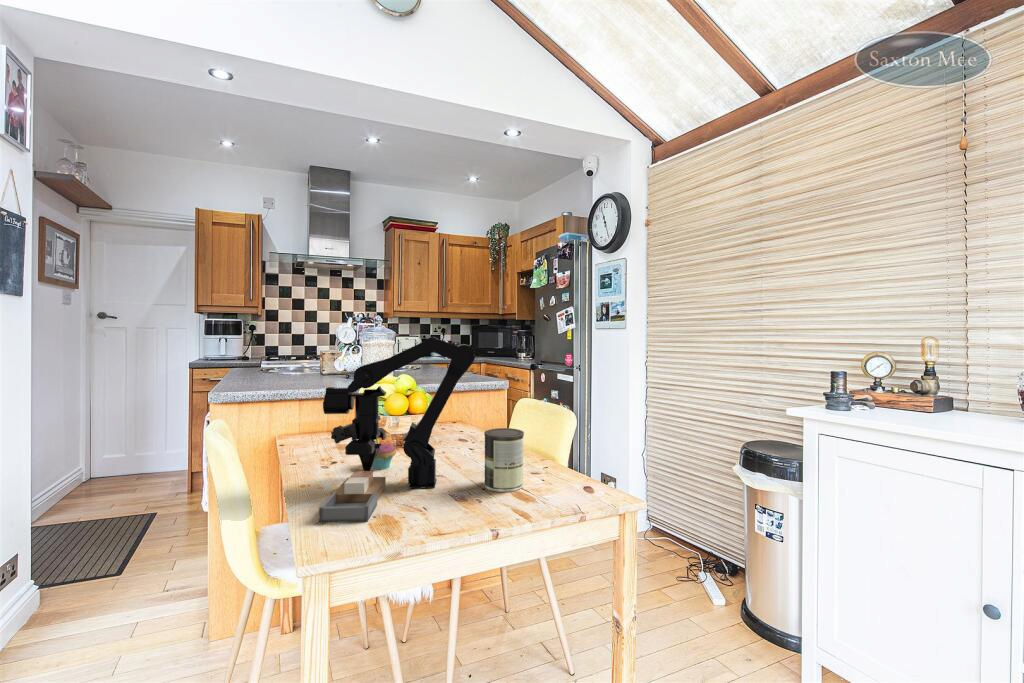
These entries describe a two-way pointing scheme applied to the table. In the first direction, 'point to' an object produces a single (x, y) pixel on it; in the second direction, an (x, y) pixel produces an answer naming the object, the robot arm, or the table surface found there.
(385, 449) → the cupcake
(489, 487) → the coffee can
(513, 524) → the table surface
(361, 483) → the cream tile
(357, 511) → the tray
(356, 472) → the terracotta tile
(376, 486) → the walnut board
